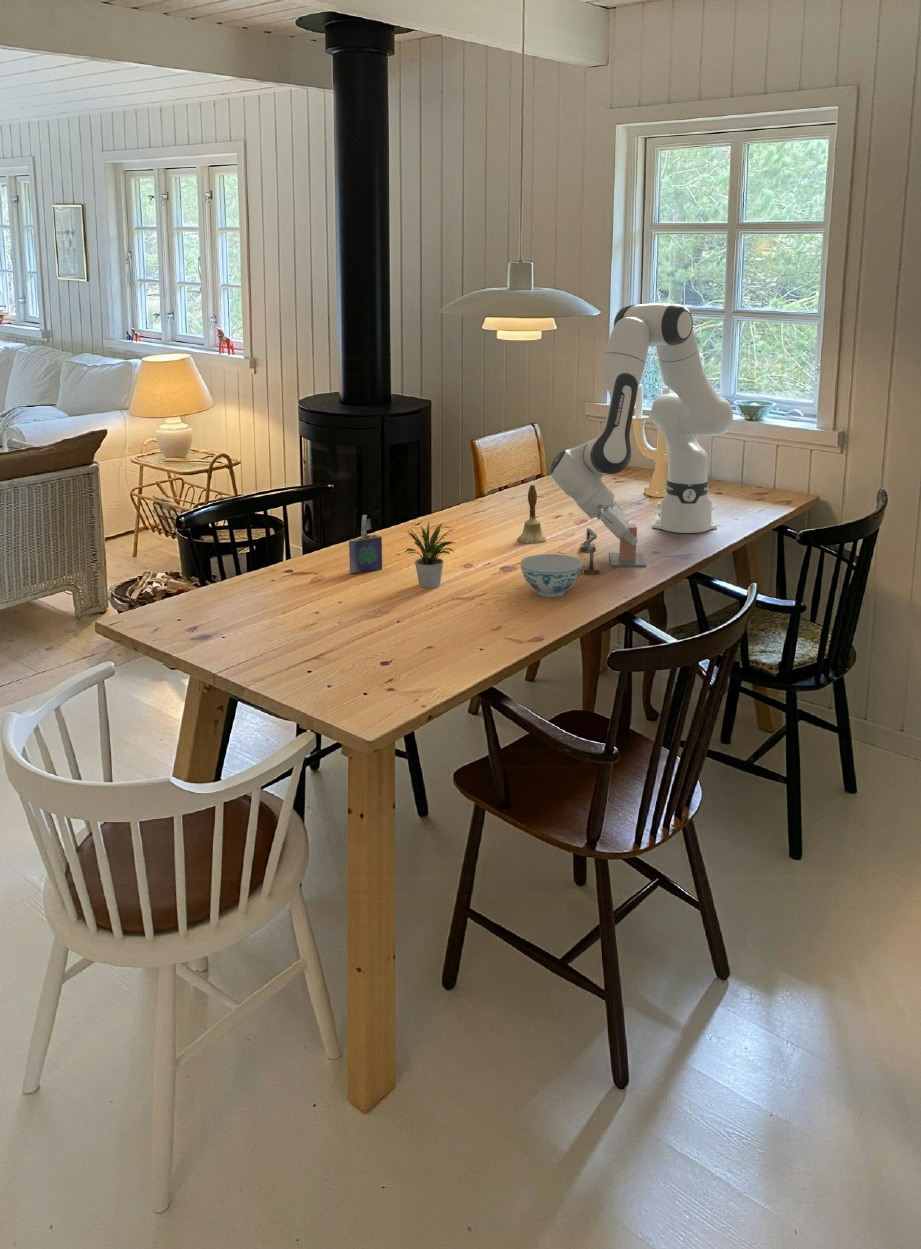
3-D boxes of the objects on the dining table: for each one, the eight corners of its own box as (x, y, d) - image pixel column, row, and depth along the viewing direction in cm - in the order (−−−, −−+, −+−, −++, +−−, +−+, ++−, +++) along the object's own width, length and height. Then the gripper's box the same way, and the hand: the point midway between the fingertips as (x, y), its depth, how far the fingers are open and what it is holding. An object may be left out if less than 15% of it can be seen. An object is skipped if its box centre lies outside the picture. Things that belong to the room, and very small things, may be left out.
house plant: (409, 598, 264) (407, 532, 259) (389, 582, 276) (387, 519, 271) (463, 590, 270) (462, 525, 264) (441, 575, 282) (440, 513, 276)
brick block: (619, 556, 295) (620, 523, 292) (634, 556, 294) (635, 524, 291) (620, 560, 291) (621, 527, 288) (635, 560, 291) (637, 527, 288)
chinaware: (587, 601, 260) (588, 570, 258) (524, 603, 259) (524, 572, 257) (575, 582, 275) (576, 553, 272) (516, 584, 273) (516, 555, 271)
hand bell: (544, 544, 310) (545, 488, 304) (515, 543, 311) (516, 487, 306) (548, 536, 317) (549, 482, 312) (520, 535, 319) (520, 481, 314)
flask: (352, 575, 283) (350, 534, 279) (347, 572, 285) (345, 532, 282) (384, 569, 287) (383, 530, 284) (379, 567, 290) (378, 527, 286)
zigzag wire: (580, 547, 306) (581, 526, 304) (594, 547, 306) (595, 526, 304) (583, 574, 281) (584, 551, 279) (599, 574, 281) (600, 551, 279)
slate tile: (608, 554, 299) (609, 552, 299) (642, 554, 298) (642, 552, 298) (611, 566, 287) (611, 564, 287) (646, 567, 287) (646, 565, 287)
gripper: (609, 502, 277) (646, 540, 280) (605, 485, 297) (639, 521, 299) (591, 519, 279) (628, 557, 282) (588, 501, 298) (622, 536, 301)
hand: (634, 538), depth 291 cm, fingers open, 8 cm apart
